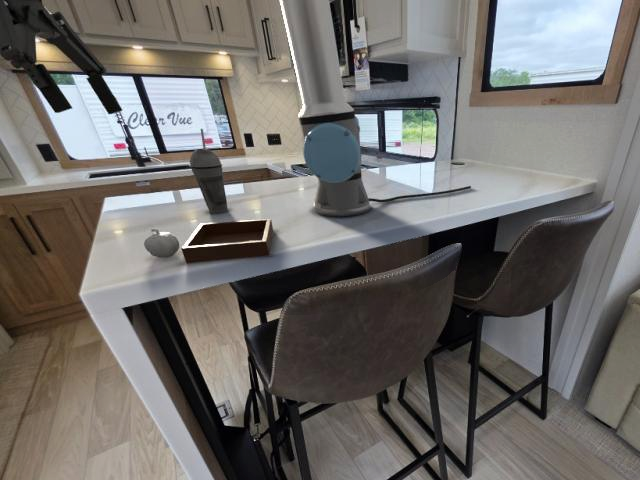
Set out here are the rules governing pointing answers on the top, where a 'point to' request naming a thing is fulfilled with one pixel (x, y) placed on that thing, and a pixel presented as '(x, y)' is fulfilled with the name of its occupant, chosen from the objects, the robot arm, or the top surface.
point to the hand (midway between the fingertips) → (92, 111)
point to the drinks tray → (229, 241)
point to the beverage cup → (209, 178)
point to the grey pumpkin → (161, 244)
